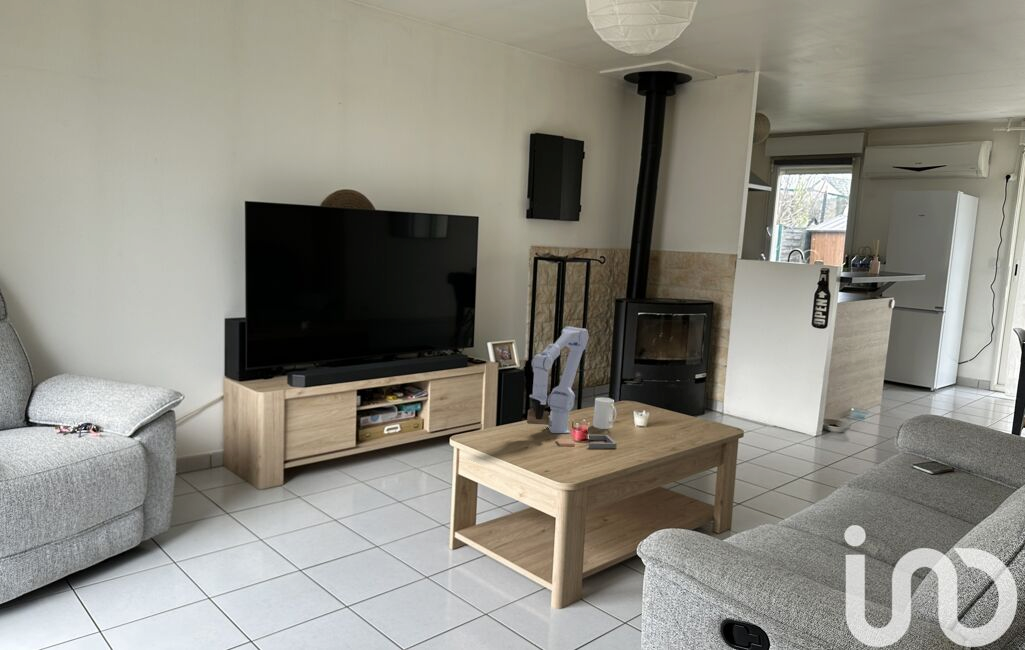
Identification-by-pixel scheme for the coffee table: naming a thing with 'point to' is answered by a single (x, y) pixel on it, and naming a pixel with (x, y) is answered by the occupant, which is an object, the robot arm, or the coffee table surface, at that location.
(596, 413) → the mug
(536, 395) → the robot arm
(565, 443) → the tile
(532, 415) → the plank on grey base
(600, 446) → the frame
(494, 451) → the coffee table surface
